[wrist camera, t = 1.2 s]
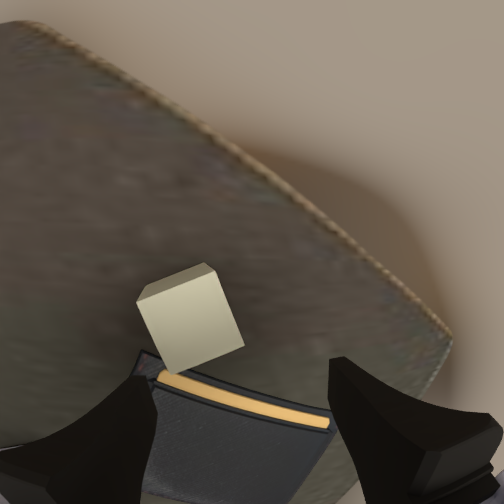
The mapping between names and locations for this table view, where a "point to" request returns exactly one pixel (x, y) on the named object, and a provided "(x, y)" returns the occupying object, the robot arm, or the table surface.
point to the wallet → (228, 439)
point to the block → (189, 318)
